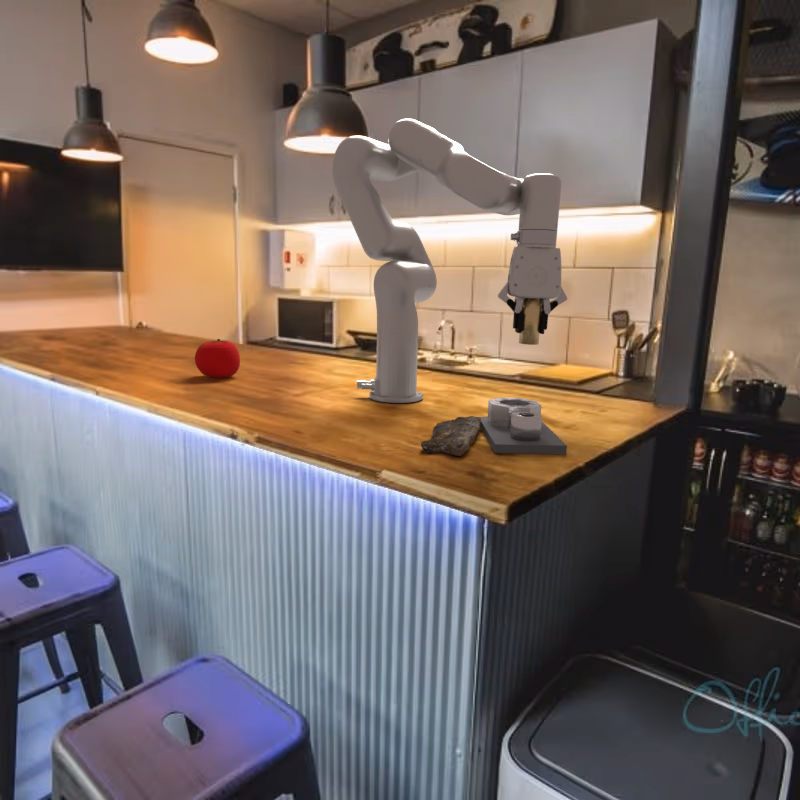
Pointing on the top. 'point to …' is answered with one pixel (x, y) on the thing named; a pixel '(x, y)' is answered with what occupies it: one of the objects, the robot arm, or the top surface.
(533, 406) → the sockets
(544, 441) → the fitting board
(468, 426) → the rock
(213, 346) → the tomato
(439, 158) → the robot arm
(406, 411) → the top surface
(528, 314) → the brass nipple
